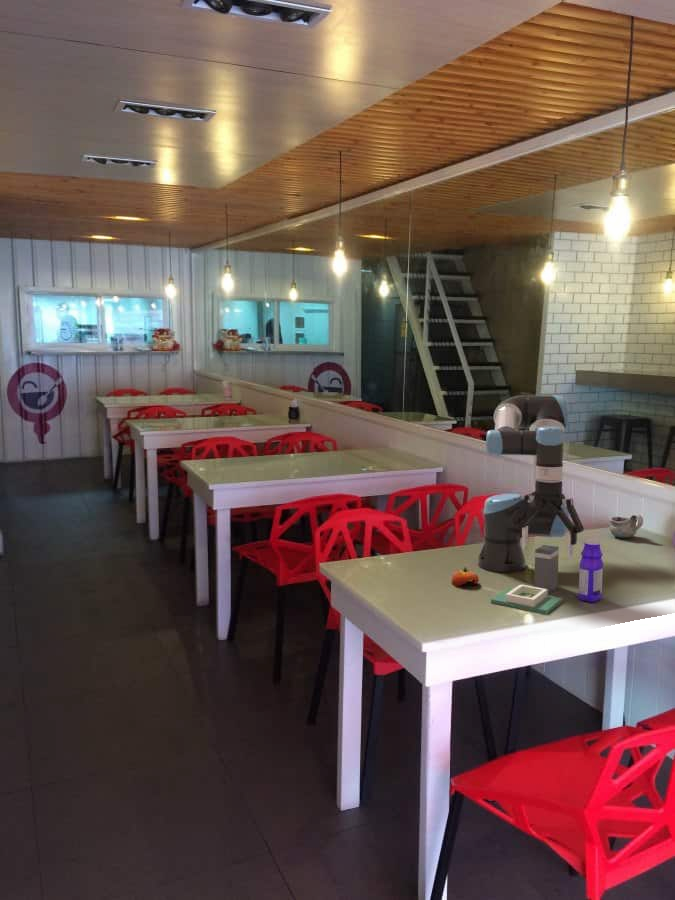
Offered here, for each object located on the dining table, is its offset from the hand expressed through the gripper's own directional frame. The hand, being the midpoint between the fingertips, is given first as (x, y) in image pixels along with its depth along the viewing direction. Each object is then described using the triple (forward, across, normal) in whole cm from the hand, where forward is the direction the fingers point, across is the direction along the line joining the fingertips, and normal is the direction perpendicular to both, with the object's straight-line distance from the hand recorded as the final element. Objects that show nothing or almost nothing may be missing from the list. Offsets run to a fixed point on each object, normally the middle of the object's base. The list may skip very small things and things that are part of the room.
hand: (546, 552), depth 213 cm
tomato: (+11, -21, -10) cm, 26 cm away
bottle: (+11, +14, -2) cm, 18 cm away
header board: (+11, 0, -15) cm, 18 cm away
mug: (+10, +4, +73) cm, 74 cm away
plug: (+11, 0, 0) cm, 11 cm away
